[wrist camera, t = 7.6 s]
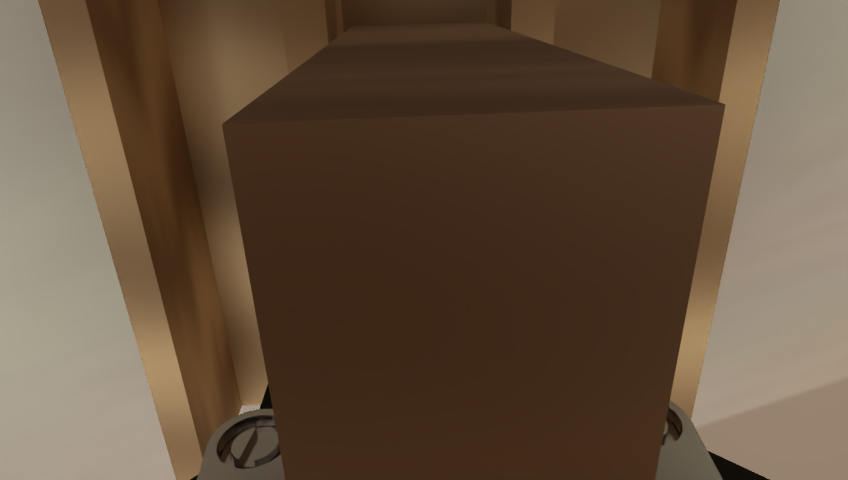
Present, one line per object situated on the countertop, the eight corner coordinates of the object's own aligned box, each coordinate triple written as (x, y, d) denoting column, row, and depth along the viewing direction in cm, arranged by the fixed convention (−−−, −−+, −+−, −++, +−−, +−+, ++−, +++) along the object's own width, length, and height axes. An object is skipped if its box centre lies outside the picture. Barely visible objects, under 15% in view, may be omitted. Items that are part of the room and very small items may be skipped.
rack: (104, -51, 16) (-16, -69, 12) (708, -70, 17) (831, -94, 12) (207, 387, 23) (157, 491, 18) (640, 365, 23) (702, 460, 19)
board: (351, 27, 12) (222, 123, 3) (486, 22, 12) (725, 103, 3) (384, 439, 17) (368, 939, 8) (480, 434, 17) (570, 924, 8)
